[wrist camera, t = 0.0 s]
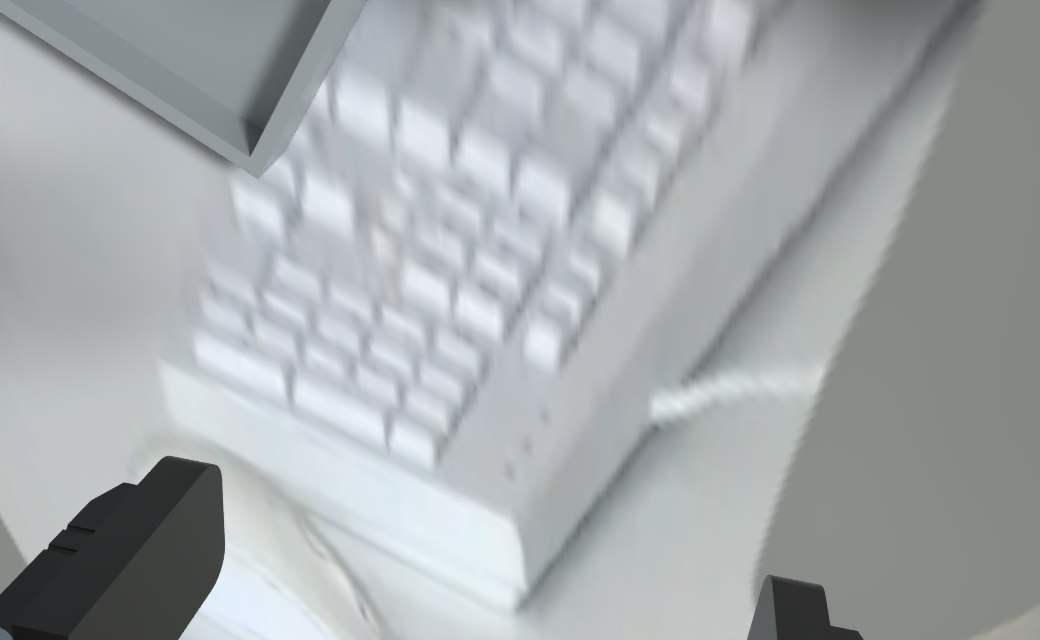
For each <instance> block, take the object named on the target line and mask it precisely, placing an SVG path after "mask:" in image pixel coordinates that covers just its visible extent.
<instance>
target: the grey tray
mask: <svg viewBox="0 0 1040 640" xmlns="http://www.w3.org/2000/svg"><path fill="white" fill-rule="evenodd" d="M366 1H367V0H0V12H1V13H2V14H4V15H5V16H7V17H8V18H10V19H11V20H13V21H15V22H16V23H18V24H19V25H21V26H22V27H24V28H25V29H27V30H28V31H30V32H32V33H33V34H35V35H36V36H38V37H39V38H41V39H42V40H44V41H45V42H47V43H49V44H50V45H52V46H53V47H55V48H56V49H58V50H59V51H61V52H62V53H64V54H66V55H67V56H69V57H70V58H72V59H73V60H75V61H76V62H78V63H79V64H81V65H83V66H84V67H86V68H87V69H89V70H90V71H92V72H93V73H95V74H96V75H98V76H100V77H101V78H103V79H104V80H106V81H107V82H109V83H110V84H112V85H113V86H115V87H116V88H118V89H120V90H121V91H123V92H124V93H126V94H127V95H129V96H130V97H132V98H133V99H135V100H137V101H138V102H140V103H141V104H143V105H144V106H146V107H147V108H149V109H150V110H152V111H154V112H155V113H157V114H158V115H160V116H161V117H163V118H164V119H166V120H167V121H169V122H171V123H172V124H174V125H175V126H177V127H178V128H180V129H181V130H183V131H184V132H186V133H188V134H189V135H191V136H192V137H194V138H195V139H197V140H198V141H200V142H201V143H203V144H205V145H206V146H208V147H209V148H211V149H212V150H214V151H215V152H217V153H218V154H220V155H221V156H223V157H225V158H226V159H228V160H229V161H231V162H232V163H234V164H235V165H237V166H238V167H240V168H242V169H243V170H245V171H246V172H248V173H249V174H251V175H252V176H254V177H255V178H257V179H259V178H260V177H261V176H262V175H263V174H264V173H265V172H266V171H267V170H268V168H269V167H270V166H271V165H272V164H273V163H274V162H275V161H276V160H277V159H278V158H279V157H280V156H281V155H282V154H283V153H284V152H285V150H286V148H287V147H288V145H289V143H290V141H291V139H292V137H293V136H294V134H295V132H296V130H297V128H298V126H299V124H300V123H301V121H302V119H303V117H304V115H305V113H306V112H307V110H308V108H309V106H310V104H311V102H312V100H313V99H314V97H315V95H316V93H317V91H318V89H319V88H320V86H321V84H322V82H323V80H324V78H325V76H326V75H327V73H328V71H329V69H330V67H331V65H332V63H333V62H334V60H335V58H336V56H337V54H338V52H339V51H340V49H341V47H342V45H343V43H344V41H345V39H346V38H347V36H348V34H349V32H350V30H351V28H352V27H353V25H354V23H355V21H356V19H357V17H358V15H359V14H360V12H361V10H362V8H363V6H364V4H365V3H366Z"/></svg>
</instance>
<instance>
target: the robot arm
mask: <svg viewBox="0 0 1040 640" xmlns="http://www.w3.org/2000/svg"><path fill="white" fill-rule="evenodd" d="M224 553H225V533H224V512H223V490H222V475H221V471H220V469H219V467H218V466H217V465H214V464H209V463H204V462H199V461H194V460H189V459H183V458H178V457H173V456H166V457H164V458H162V459H161V460H160V461H159V462H158V463H157V464H156V465H155V466H154V468H153V469H152V470H151V471H150V472H149V473H148V474H147V475H146V476H145V477H144V479H143V480H142V481H141V482H140V483H139V484H138V485H134V484H129V483H122V484H120V485H118V486H117V487H115V488H113V489H111V490H109V491H107V492H106V493H104V494H102V495H100V496H98V497H97V498H95V499H93V500H91V501H90V502H89V503H88V504H87V505H86V506H85V507H84V508H83V509H82V510H81V511H80V512H79V513H78V514H77V515H76V516H75V518H74V519H73V520H72V521H71V522H70V523H69V524H68V526H67V529H66V530H62V531H61V532H60V533H59V534H58V535H57V536H56V537H55V538H54V539H53V540H52V541H51V542H50V543H49V547H48V549H47V550H45V549H44V550H43V551H42V552H41V553H40V554H39V555H38V556H37V557H36V558H35V559H34V560H33V561H32V562H31V563H30V564H29V565H28V566H27V567H26V568H25V569H24V571H23V572H22V573H21V574H20V575H19V576H18V577H17V578H16V579H15V580H14V581H13V582H12V583H11V584H10V585H9V586H8V587H7V588H6V589H5V590H4V591H3V592H2V593H1V594H0V640H178V639H179V638H180V636H181V635H182V633H183V632H184V630H185V629H186V627H187V626H188V624H189V623H190V621H191V620H192V618H193V617H194V615H195V614H196V613H197V611H198V610H199V608H200V607H201V605H202V604H203V602H204V601H205V599H206V598H207V596H208V595H209V593H210V592H211V590H212V589H213V587H214V585H215V583H216V581H217V579H218V577H219V574H220V571H221V568H222V564H223V560H224ZM747 640H863V638H862V637H861V635H860V634H859V633H858V631H854V630H849V629H844V628H839V627H833V626H830V622H829V615H828V608H827V602H826V597H825V592H824V589H823V587H822V586H821V585H818V584H813V583H808V582H803V581H798V580H792V579H787V578H782V577H777V576H772V575H767V577H766V578H765V580H764V583H763V586H762V589H761V593H760V596H759V599H758V603H757V606H756V610H755V614H754V617H753V621H752V624H751V628H750V631H749V635H748V638H747Z"/></svg>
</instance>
